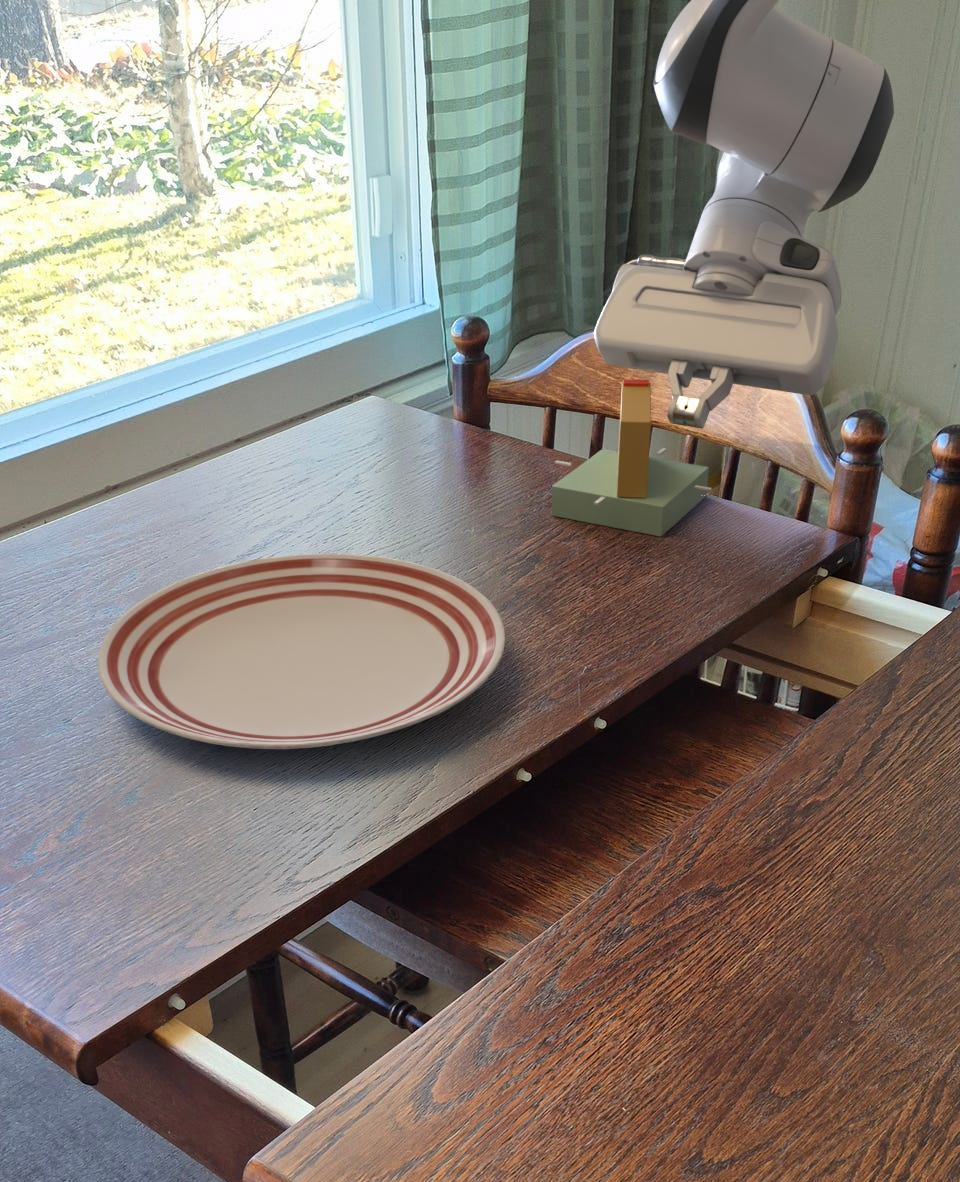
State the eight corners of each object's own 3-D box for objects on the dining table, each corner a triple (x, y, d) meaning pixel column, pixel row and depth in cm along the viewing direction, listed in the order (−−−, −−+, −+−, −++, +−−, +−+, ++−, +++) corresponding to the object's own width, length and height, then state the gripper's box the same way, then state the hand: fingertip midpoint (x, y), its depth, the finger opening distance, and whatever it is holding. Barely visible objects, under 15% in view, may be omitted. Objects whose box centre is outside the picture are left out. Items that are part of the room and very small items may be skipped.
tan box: (646, 498, 116) (651, 418, 112) (616, 497, 117) (620, 418, 112) (645, 455, 124) (650, 379, 120) (618, 454, 124) (622, 378, 120)
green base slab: (738, 492, 124) (741, 461, 122) (674, 551, 115) (677, 518, 113) (589, 466, 129) (590, 435, 127) (517, 520, 120) (517, 488, 118)
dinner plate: (407, 817, 85) (405, 768, 83) (23, 736, 93) (11, 689, 91) (560, 627, 104) (561, 583, 102) (230, 573, 112) (225, 531, 110)
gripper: (616, 229, 120) (561, 384, 120) (852, 256, 113) (795, 421, 113) (634, 275, 126) (582, 423, 126) (860, 304, 119) (805, 461, 119)
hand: (684, 422), depth 120 cm, fingers closed
